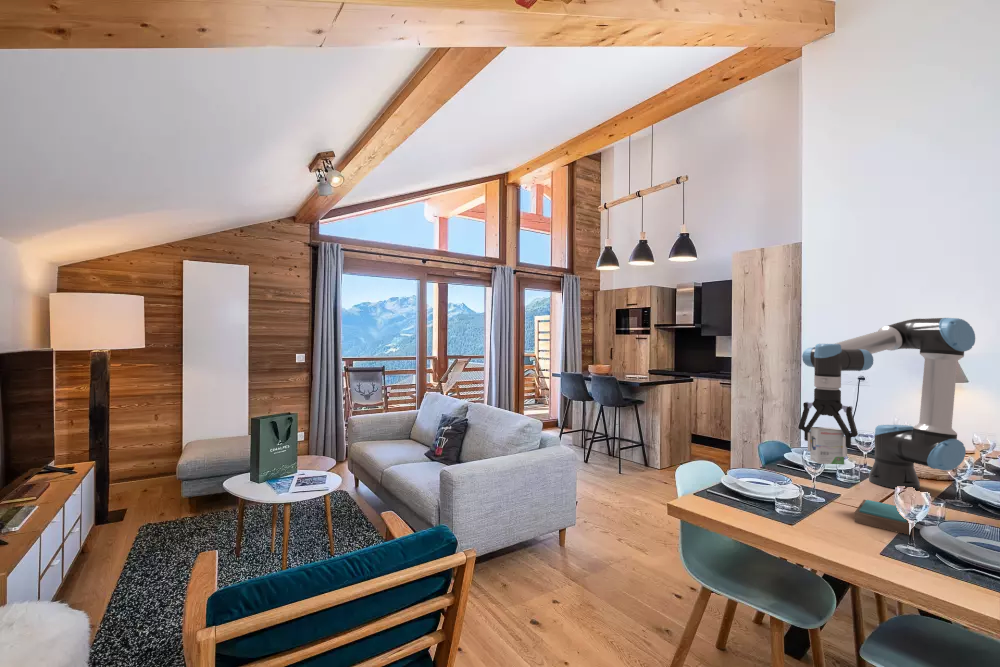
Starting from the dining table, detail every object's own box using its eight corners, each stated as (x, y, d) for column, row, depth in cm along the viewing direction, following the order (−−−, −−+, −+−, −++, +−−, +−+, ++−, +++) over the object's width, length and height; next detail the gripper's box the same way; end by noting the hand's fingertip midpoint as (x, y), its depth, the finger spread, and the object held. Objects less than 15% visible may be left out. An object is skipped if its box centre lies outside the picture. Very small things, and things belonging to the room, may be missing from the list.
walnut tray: (863, 508, 155) (863, 497, 155) (915, 520, 146) (915, 508, 146) (854, 521, 144) (854, 510, 144) (909, 535, 135) (910, 523, 135)
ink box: (817, 464, 157) (818, 429, 157) (809, 459, 162) (809, 426, 162) (845, 464, 156) (845, 430, 156) (835, 460, 161) (835, 426, 161)
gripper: (787, 386, 164) (787, 449, 164) (865, 392, 148) (865, 462, 148) (794, 384, 169) (793, 445, 170) (869, 390, 153) (869, 457, 154)
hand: (826, 453), depth 159 cm, fingers closed on ink box, 9 cm apart
